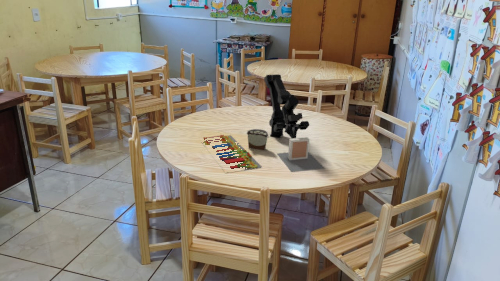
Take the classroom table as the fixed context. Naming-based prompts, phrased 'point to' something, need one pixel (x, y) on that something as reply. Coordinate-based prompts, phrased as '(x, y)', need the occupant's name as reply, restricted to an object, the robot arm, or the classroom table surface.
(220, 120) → the classroom table surface
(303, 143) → the picture tile
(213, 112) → the classroom table surface
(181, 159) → the classroom table surface
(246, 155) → the multicolored flat board
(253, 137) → the food container
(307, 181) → the classroom table surface
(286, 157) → the felt mat
